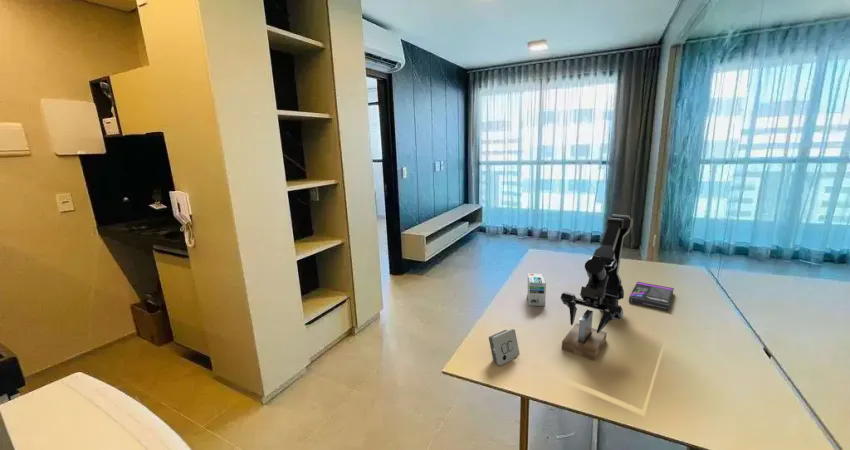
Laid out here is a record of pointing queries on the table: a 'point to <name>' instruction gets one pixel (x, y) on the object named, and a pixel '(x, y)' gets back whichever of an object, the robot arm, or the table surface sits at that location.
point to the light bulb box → (536, 289)
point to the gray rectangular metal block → (585, 326)
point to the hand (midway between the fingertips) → (584, 328)
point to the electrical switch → (504, 346)
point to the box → (651, 295)
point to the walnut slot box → (591, 345)
